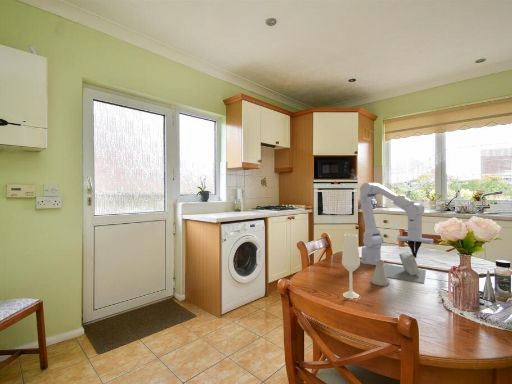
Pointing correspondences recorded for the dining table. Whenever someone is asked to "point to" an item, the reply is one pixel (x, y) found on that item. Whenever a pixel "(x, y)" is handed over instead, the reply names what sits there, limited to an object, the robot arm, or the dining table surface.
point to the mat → (403, 274)
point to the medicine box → (409, 263)
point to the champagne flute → (350, 260)
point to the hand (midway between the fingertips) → (414, 257)
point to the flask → (379, 274)
